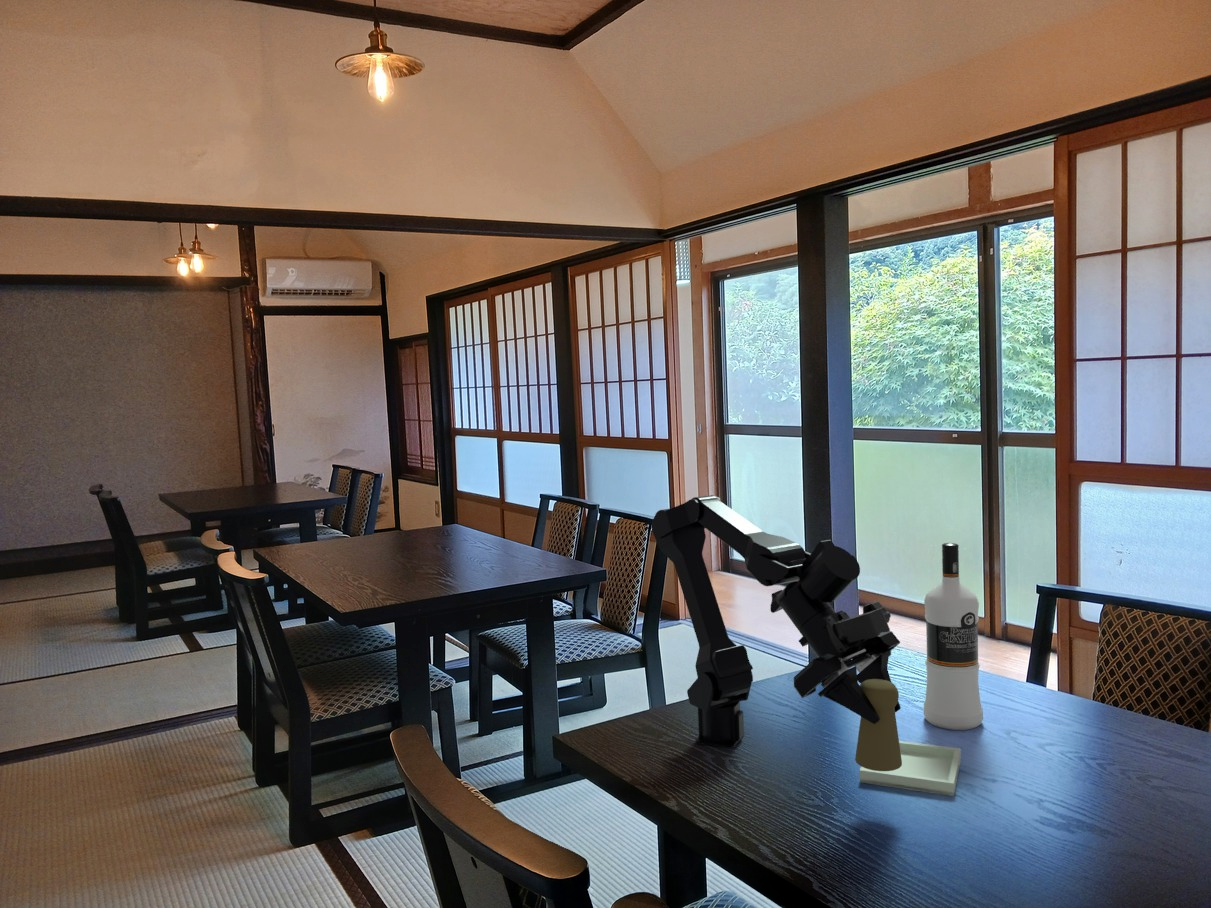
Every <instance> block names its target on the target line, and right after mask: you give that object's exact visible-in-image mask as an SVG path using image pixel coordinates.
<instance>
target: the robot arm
mask: <svg viewBox="0 0 1211 908" xmlns="http://www.w3.org/2000/svg"><path fill="white" fill-rule="evenodd" d="M650 529H651V532H652V534H653V537H654V539H655V541H656V544H657V546H658V549H659V550H660V552H662V553H663V554H664V556H666V557H667V559H669V560H670V561H671V562H672V564H673V565H674V568H675V572H676V576H677V578H678V580H679V584H680V588H681V591H682V594H683V598H684V601H685V604H686V607H687V611H688V614H689V617H690V620H691V624H692V627H693V630H694V634H695V636H696V639H697V644H698V647H699V649H698V652H697V657H696V661H695V671H696V676H697V678H696V679H695V681H694V682H693V683H692V684H691V685H690V687H689V688H688V689H687V691H686V693H687V697H688V702H689V704H690V705H692V706H693V707H696V708H697V724H698V726H697V727H698V735H697V737H696V738H695V739H694V740H695V741H694V742H695V744H701V745H706V746H714V747H720V748H728V749H733V748H735V747H736V745H738V743H739V742H740V741H741V739H742V738H743V737H744V735H745V725H744V723H745V721H744V720H745V717H744V711H743V710H741V702H743V701H748V700H749V695H750V691H751V687H752V684H753V682H754V675H753V672H752V670H754V667H753V665H752V664H751V661H750V659H749V657H748V656H749V655H748V650H747V648H746V647H745V645H744V644H739V645H737V644H736V643H735V642H734V641H733V640H731V639H730V637H729V633H728V632H727V628H726V624H725V622H724V619H723V616H722V612H721V610H720V607H719V604H718V600H717V596H716V593H715V590H714V587H713V584H712V581H711V578H710V574H709V572H708V571H709V570H708V568H707V565H706V563H705V559H704V557H703V555H704V554H703V551H704V547H705V542H706V538H707V535H706V531H705V529H706V530H707V531H709V533H712V534H713V535H714V536H715V537H716V538H718V539H720V540H721V541H722V542H723V543H724V544H726V545H727V546H728V547H730V549H732V550H734V551H735V552H736V553H737V554H739V555H740V556H741V557H742V558H743V559H744V563H745V568H746V570H747V571H748V572H749V573H750V574H751V576H753V578H754V579H756V580H757V582H758V583H759V584H760V585H762V586H764V587H772V586H777V585H783V584H787V585H786V586H785V587H784V588H783V589H780V590H778V591H775V592H773V593H771V595H770V596H771V603H770V610H769V611H770V612H771V613H772V614H774V613H777V612H779V611H782V610H783V611H784V613H785V614H786V615H787V618H789V619H790V621H791V622H792V624H793V626H795V628H796V629H797V630H798V632H799V633H800V635H801V638H800V639H798V642H799V644H800V645H801V646H802V647H806V646H807V645H808V646H809V647H810V648H811V650H812V651H813V653H814V654H815V655H816V656H817V658H814V659H812V660H811V661H810V662H809V663H807V665H806V666H805V667H803V668H802V669H801V670H800V671H799V672H798V673H796V674H795V676H793V688H794V689H795V690H796V692H797V693H798V695H799V696H800V698H801V699H804V698H806V697H808V696H810V695H813V694H814V693H815V692H816V691H817V687H818V686H819V685H821V687H822V688H823V689H821V690H820V691H819V692H818V693H817V695H818V696H819V697H820V698H822V697H824V698H827V699H828V700H829V701H830V700H831V701H832V702H834V703H836V704H838V705H840V706H842V707H844V708H846V709H847V710H850V711H851V712H852V713H855V714H856V715H858V716H859V717H860V718H861V717H863V718H864V719H866V720H868V721H870V722H871V723H873V724H875V723H877V722H878V721H879V720H880V718H879V716H878V714H877V712H876V710H875V709H874V707H873V706H872V704H871V702H870V701H869V699H868V698H867V696H866V695H865V693H864V692H863V690H862V689H861V687H860V684H861V683H862V682H863V681H865V680H869V679H883V680H887V681H890V682H891V683H893V682H892V680H891V676H890V674H889V671H888V664H889V658H890V657H891V655H892V650H894V649H895V648H896V647H898V645H899V644H900V643H901V641H900V640H899V639H898V637H897V636H896V635H895V633H893V631H892V630H891V629H890V626H889V624H888V623H889V622H890V619H891V613H890V612H889V611H887V609H886V608H885V607H884V606H883V605H882V604H881V603H880V602H879V601H874V602H872V603H868V604H866V605H863V607H862V613H861V614H858V615H855V616H852V617H850V616H849V614H848V613H847V612H845V611H843V610H840V611H837V612H836V611H835V609H834V608H833V607H832V605H831V603H832V602H834V601H836V600H838V598H839V597H840V596H841V595H842V594H843V593H844V592H845V591H846V590H847V589H848V588H849V586H851V584H852V583H854V582H855V580H856V579H857V578H859V576H860V573H861V568H860V567H861V566H860V564H859V562H858V560H857V558H856V557H855V555H854V554H853V555H852V554H851V553H850V552H849V551H847V550H846V549H845V548H842V547H841V546H837V545H835V544H834V542H833V540H832V539H827V540H826V539H825V540H821V541H818V543H817V544H816V545H815V547H814V549H813V551H812V552H811V553H810V552H808V551H805V549H804V547H802V546H801V545H800V544H799V543H798V542H796V541H794V540H791V539H789V538H786V537H784V536H779V535H775V534H772V533H771V534H770V533H767V532H765V531H763V530H761V529H760V528H759V527H757V526H756V525H754V524H753V523H751V521H749V520H747V519H746V518H745V517H743V516H742V515H741V514H739V513H737V512H736V511H735V510H734V509H732V508H731V507H729V506H727V505H726V504H725V503H724V502H722V499H721V498H720V497H719V496H717V495H713V494H711V495H703V496H697V497H695V496H694V497H692V498H690V499H689V500H687V501H686V502H684V503H681V504H679V505H677V506H674V507H671V508H666V509H659V510H657V512H655V514H654V517H653V518H652V519H651V527H650ZM901 708H902V707H901V704H900V702H899V700H898V702H897V705H896V706H895V707H894V709H895V713H897V712H898V711H900V710H901Z"/></svg>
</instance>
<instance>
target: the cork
mask: <svg viewBox="0 0 1211 908" xmlns="http://www.w3.org/2000/svg"><path fill="white" fill-rule="evenodd" d="M891 682H892V681H891ZM891 682H890V681H887V680H883V679H869V680H865V681H863V682H862V683H859V685H860V687H861V689H862V690H863V692H864V693H865V695H866V696H867V698H868V699H869V701H870V702H871V704H872V706H873V707H874V709H875V710H876V712H877V714H878V716H879V718H880V720H879V721H878V722H877V723H875V724H873V723H871V722H870V721H868V720H866V719H864V718H863V717H861V716H860V722H859V729H858V736H857V744H856V751H855V758H854V761H855V762H856V764H857V765H859V767H861V766H862V767H864V768H866V769H870V770H874V771H893V770H896V769H899V768H900V767H901V766H902V759H901V752H900V745H899V741H900V739H899V731H898V726H897V718H896V712H895V709H894V707H895V706H896V705H897V702H898V701H899V696H900V695H899V694H900V693H899V690H898V688H897V686H896V685H895V683H893V682H892V683H891Z"/></svg>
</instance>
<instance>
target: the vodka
mask: <svg viewBox="0 0 1211 908" xmlns="http://www.w3.org/2000/svg"><path fill="white" fill-rule="evenodd" d="M941 546H942V547H941V556H942V557H941V558H942V559H941V561H942V562H941V563H942V565H941V566H942V582H941V583H939V584H937V585H936V586H935V587H933V588H931V589H930V590H929V591H927V593H926V594H925V597H924V611H925V614H924V619H925V622H926V628H925V629H926V660H925V666H926V689H925V691H926V692H925V699H924V702H923V716H924V718H925V720H926V721H927V722H928V723H930V724H931V725H933V726H935V727H938V728H941V729H945V730H951V731H966V730H972V729H975V728H977V727H978V726H981V724H982V723H983V720H984V709H983V706H982V703H981V696H980V695H981V694H980V687H979V686H980V683H979V673H980V670H979V669H980V668H981V667H980V666H981V665H980V664H979V628H978V627H979V625H978V624H979V620H980V619H979V618H980V617H979V607H980V606H979V605H980V603H979V599H978V597H977V595H976V594H975V593H974V592H973V591H971V589H969V588H968V587H966V586H965V585H963V584H962V583H961V582H960V570H959V569H960V565H959V564H960V563H959V559H960V558H959V557H960V555H959V549H960V548H959V544H957V543H954V542H945V543H942V544H941Z"/></svg>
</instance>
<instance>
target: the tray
mask: <svg viewBox="0 0 1211 908" xmlns="http://www.w3.org/2000/svg"><path fill="white" fill-rule="evenodd" d="M899 745H900V752H901V759H902V766H901V767H900V768H899V769H896V770H893V771H874V770H870V769H866V768H864V767H862V766H860V768H859V783H863V784H869V785H876V786H883V787H889V788H897V789H901V790H903V789H904V790H908V791H910V790H911V791H917V792H923V793H930V794H936V795H943V796H948V797H949V796H950V797H955V793H956V789H957V788H956V787H957V784H958V777H959V772H960V768H961V761H962V754H961V753H962V751H961V750H962V749H961V748H960V747H953V746H945V745H943V746H942V745H936V744H929V743H920V742H911V741H905V740H899Z"/></svg>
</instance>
